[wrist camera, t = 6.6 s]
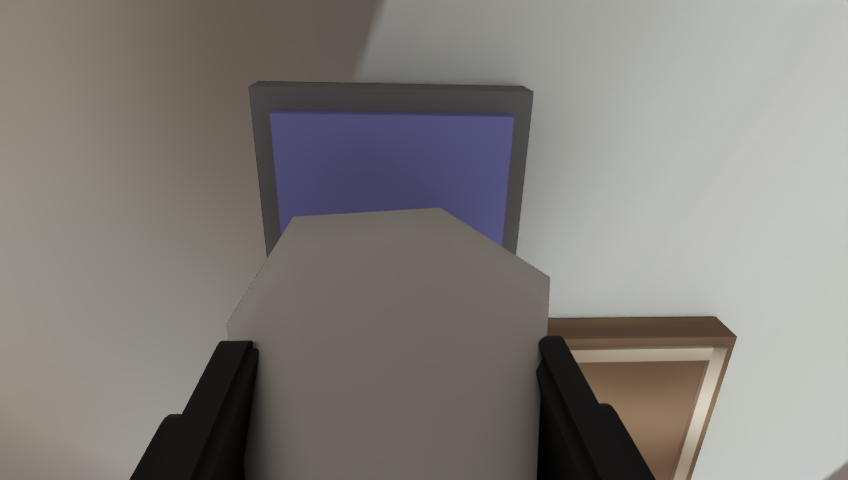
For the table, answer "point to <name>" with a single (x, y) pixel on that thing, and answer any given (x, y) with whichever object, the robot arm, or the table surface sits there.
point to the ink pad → (391, 152)
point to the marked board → (654, 379)
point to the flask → (393, 352)
